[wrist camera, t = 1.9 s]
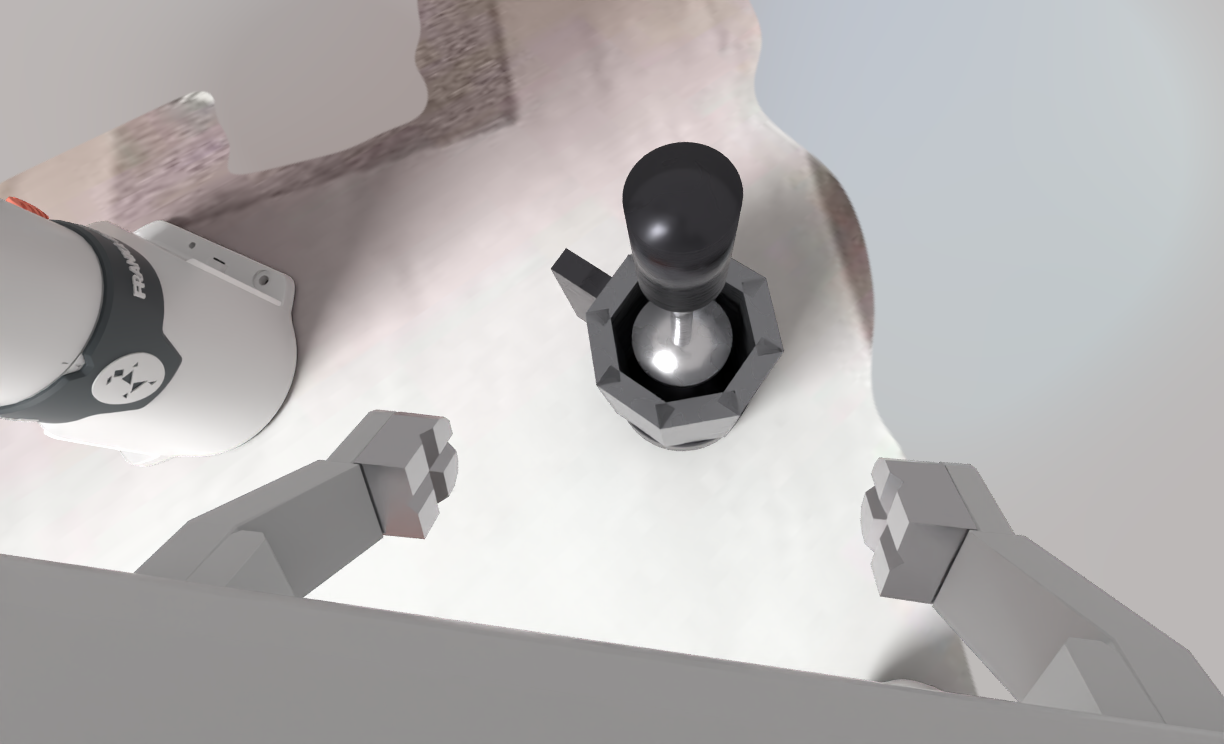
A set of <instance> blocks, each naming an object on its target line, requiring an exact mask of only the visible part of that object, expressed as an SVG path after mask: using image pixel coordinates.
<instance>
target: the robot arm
mask: <svg viewBox="0 0 1224 744" xmlns="http://www.w3.org/2000/svg"><path fill="white" fill-rule="evenodd" d="M48 219H49V217H48V216H47V215H46V214H45V213H44V212H42V211H41V210H39V209H38V208H36V207H35V206H33V205H31V204H29V203H27V202H25V201H23V200H20V199H18V198H15V197H8V198H7V199H6V201H5V200H3V199H1V198H0V419H5V420H12V421H19V422H38V423H39V425H40V426H41V427H42V428H43V429H44V433H45V434H46V435H48V436H49V437H52V438H55V439H59V440H65V441H70V442H76V443H82V444H87V445H93V446H99V447H105V448H111V449H117V450H119V451H120V452H121V454H122V456H123V457H124V459H125V460H126V461H127V462H128V463H129V464H131V465H136V466H142V467H148V466H153V465H156V464H159V463H161V462H163V461H166V460H168V459H171V458H173V457H178V456H190V457H205V456H212V455H217V454H221V453H224V452H227V451H229V450H232V449H234V448H236V447H238V446H240V445H242V444H243V443H245V442H247V441H248V440H249V439H251V438H252V437H254V436H255V435H256V434H257V433H258V432H260V431H261V430H262V429H263V428H264V427H265V426H266V425H267V424H268V423H269V421H270V420H271V419H272V418H273V417H274V415H275V414H276V413H277V411H278V410H279V408H280V407H281V405H282V403H283V401H284V400H285V398H286V396H287V394H288V391H289V389H290V386H291V383H292V380H293V377H294V372H295V367H296V359H297V346H296V338H295V333H294V329H293V324H292V318H291V311H292V306H293V300H294V294H295V284H294V281H293V279H292V278H291V277H290V276H288V275H286V274H284V273H282V272H280V271H277V270H275V269H273V268H271V267H268V266H266V265H264V264H261V263H259V262H257V261H255V260H252V259H250V258H248V257H246V256H243V255H241V254H239V253H237V252H234V251H232V250H230V249H228V248H225V247H223V246H221V245H219V244H216V243H214V242H212V241H210V240H207V239H205V238H203V237H201V236H198V235H196V234H194V233H192V232H189V231H187V230H185V229H183V228H180V227H178V226H176V225H173V224H171V223H168V222H166V221H162V220H157V221H154V222H152V223H149V224H147V225H145V226H143V227H141V228H139V229H138V230H136V231H134V232H133V233H132V232H130V231H128V230H126V229H124V228H122V227H120V226H118V225H116V224H114V223H111V222H109V221H100V222H95V223H92V224H89V225H86V226H83V225H78V224H74V223H70V222H65V221H61V220H48ZM268 279H269V280H268ZM267 280H268V282H267V284H265V283H266V281H267ZM452 434H453V433H452V429H451V425H450V421H449V420H448V419H447V418H445V417H440V416H432V415H423V414H415V413H406V412H395V411H386V410H374V411H371V412H369V413H368V414H367V415H366V416H365V417H364V418H363V420H362V421H361V422H360V423H359V424H358V425H357V426H356V427H355V429H354V430H353V431H352V432H351V433H350V434H349V435H348V436H347V438H346V439H345V440H344V441H343V442H342V443H341V444H340V445H339V446H338V448H337V449H336V450H335V451H334V452H333V453H332V454H331V455H330V457H329V458H328V459H327V460H326V461H325V460H317V461H315V462H313V463H311V464H309V465H307V466H305V467H302V468H300V469H298V470H296V471H294V472H292V473H290V474H287V475H285V476H283V477H281V478H279V479H277V480H275V481H272V482H270V483H268V484H266V485H264V486H262V487H260V488H258V489H255V490H253V491H251V492H249V493H247V494H245V495H243V496H240V497H238V498H236V499H234V500H232V501H230V502H228V503H226V504H223V505H221V506H219V507H217V508H215V509H213V510H211V511H208V512H206V513H204V514H202V515H200V516H198V517H196V518H193V519H191V520H189V521H188V522H187V523H186V524H185V525H184V526H183V527H182V528H180V529H179V530H178V531H177V532H176V533H175V534H174V535H173V536H172V537H171V538H170V539H169V540H168V541H167V542H166V543H165V544H164V545H163V546H161V547H160V548H159V549H158V550H157V551H156V552H155V553H154V554H153V555H152V556H151V557H150V558H149V559H148V560H147V561H146V562H145V563H144V564H142V565H141V566H140V567H139V568H138V569H137V570H136V571H135V572H134V573H129V572H122V571H115V570H108V569H101V568H94V567H88V566H81V565H74V564H67V563H60V562H53V561H46V560H39V559H32V558H26V557H19V556H12V555H5V554H0V744H1224V697H1223V695H1222V694H1221V692H1220V691H1219V690H1218V689H1217V687H1216V686H1215V684H1214V683H1213V682H1212V680H1211V679H1210V678H1209V676H1208V675H1207V674H1206V672H1205V671H1204V670H1203V668H1202V667H1201V666H1200V664H1199V663H1198V662H1197V660H1196V659H1195V658H1194V656H1193V655H1192V653H1191V652H1190V651H1189V650H1188V649H1186V648H1185V647H1183V646H1182V645H1180V644H1179V643H1178V642H1176V641H1175V640H1173V639H1172V638H1170V637H1169V636H1167V635H1166V634H1165V633H1163V632H1162V631H1160V630H1159V629H1157V628H1156V627H1155V626H1153V625H1152V624H1150V623H1149V622H1148V621H1146V620H1145V619H1143V618H1142V617H1140V616H1139V615H1138V614H1136V613H1135V612H1133V611H1132V610H1130V609H1129V608H1127V607H1126V606H1125V605H1123V604H1122V603H1120V602H1119V601H1117V600H1116V599H1115V598H1113V597H1112V596H1110V595H1109V594H1107V593H1106V592H1105V591H1103V590H1102V589H1100V588H1099V587H1097V586H1096V585H1095V584H1093V583H1092V582H1090V581H1089V580H1087V579H1086V578H1085V577H1083V576H1082V575H1080V574H1079V573H1077V572H1076V571H1074V570H1073V569H1072V568H1070V567H1069V566H1067V565H1066V564H1064V563H1063V562H1062V561H1060V560H1059V559H1057V558H1056V557H1054V556H1053V555H1052V554H1050V553H1049V552H1047V551H1046V550H1044V549H1043V548H1042V547H1040V546H1039V545H1037V544H1036V543H1034V542H1033V541H1032V540H1030V539H1028V538H1027V537H1026V536H1021V535H1015V534H1014V532H1013V530H1012V529H1011V527H1010V525H1009V524H1008V522H1007V520H1006V518H1005V517H1004V515H1003V513H1002V512H1001V510H1000V508H999V507H998V505H997V503H996V501H995V500H994V498H993V496H992V494H991V493H990V491H989V489H988V488H987V486H986V484H985V483H984V481H983V479H982V477H981V476H980V474H979V472H978V471H977V469H976V468H975V467H973V466H972V465H971V464H959V463H945V462H939V463H935V462H924V461H913V460H901V459H890V458H878V460H877V461H876V463H875V464H874V467H873V470H872V473H871V475H872V478H873V481H874V485H875V486H874V487H872V488H871V489H869V490H868V491H867V492H865V495H864V499H863V502H862V506H861V520H860V521H861V530H862V535H863V539H864V543H865V544H866V545H867V546H868V547H869V548H870V549H871V550H872V551H873V552H874V556H873V559H872V561H871V567H872V571H873V574H874V578H875V581H876V585H877V588H878V592H879V595H880V596H882V597H888V598H895V599H901V600H908V601H915V602H921V603H928V604H933V606H932V607H933V608H934V609H935V610H936V611H937V612H938V614H939V615H940V616H941V617H942V618H943V619H944V620H945V621H946V622H947V624H948V625H949V626H950V627H951V628H952V629H953V630H954V631H955V632H956V633H957V635H958V636H959V637H960V638H961V639H962V640H963V641H964V642H965V643H966V645H967V646H968V647H969V648H970V649H971V650H972V651H973V652H974V653H975V655H976V656H977V657H978V658H979V659H980V660H981V661H982V662H983V663H984V664H985V665H986V667H987V668H988V669H989V670H990V671H991V672H992V673H993V674H994V676H995V677H996V678H997V679H998V680H999V681H1000V682H1001V683H1002V684H1003V686H1004V687H1005V688H1006V689H1007V690H1008V691H1009V692H1010V693H1011V694H1012V696H1013V697H1014V698H1015V699H1016V700H1017V701H1018V702H1013V701H1006V700H999V699H992V698H985V697H979V696H972V695H965V694H958V693H951V692H945V691H938V690H931V689H924V688H917V687H910V686H904V685H897V684H890V683H883V682H876V681H869V680H863V679H856V678H849V677H842V676H835V675H828V674H821V673H815V672H808V671H801V670H794V669H787V668H780V667H773V666H767V665H760V664H753V663H746V662H739V661H732V660H725V659H719V658H712V657H705V656H698V655H691V654H684V653H677V652H670V651H664V650H657V649H650V648H643V647H636V646H629V645H623V644H616V643H609V642H602V641H595V640H588V639H582V638H575V637H568V636H561V635H554V634H547V633H541V632H534V631H527V630H520V629H513V628H506V627H499V626H493V625H486V624H479V623H472V622H465V621H458V620H451V619H445V618H438V617H431V616H424V615H417V614H410V613H403V612H397V611H390V610H383V609H376V608H369V607H362V606H355V605H349V604H342V603H335V602H328V601H321V600H314V599H307V598H303V597H304V596H306V595H307V594H308V593H310V592H311V591H312V590H314V589H315V588H316V587H318V586H319V585H320V584H322V583H323V582H324V581H326V580H327V579H328V578H330V577H331V576H332V575H334V574H335V573H336V572H338V571H339V570H340V569H342V568H343V567H344V566H346V565H347V564H348V563H350V562H351V561H352V560H354V559H355V558H356V557H358V556H359V555H360V554H362V553H363V552H364V551H366V550H367V549H368V548H370V547H371V546H372V545H374V544H375V543H376V542H378V541H379V540H380V539H382V538H383V535H388V536H399V537H409V538H419V539H425V538H426V536H427V534H428V533H429V531H430V529H431V527H432V526H433V524H434V522H435V520H436V518H437V517H438V515H439V509H438V505H437V503H439V502H441V501H442V500H444V499H446V498H447V497H449V495H450V493H451V492H452V490H453V488H454V486H455V482H456V478H457V474H458V457H457V452H456V450H455V449H454V448H453V447H452V446H451V445H450V444H449V443H448V440H449V439H450V437H451V436H452Z"/></svg>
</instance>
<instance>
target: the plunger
mask: <svg viewBox="0 0 1224 744" xmlns="http://www.w3.org/2000/svg"><path fill="white" fill-rule="evenodd" d="M742 200H743V187H742V182H741V179H740V176H739V174H738V172H737V170H736V168H735V167H734V165H733V164H732V163H731V162H730V160H729V159H728V158H727V157H725V156H724V155H723V154H722V153H720V152H719V151H717V150H715V149H713V148H711V147H709V146H706V145H703V144H698V143H692V142H678V143H672V144H668V145H664V146H662V147H659V148H657V149H655V150H653V151H651V152H649V153H648V154H647V155H645V156H644V157H643V158H642V159H640V160H639V161H638V162H637V163H636V165H635V166H634V167H633V168H632V170H631V171H630V173H629V175H628V177H627V179H626V182H625V185H624V189H623V209H624V214H625V219H626V224H627V229H628V234H629V239H630V244H631V249H632V254H633V259H634V264H635V269H636V274H637V279H638V283H639V286H640V288H641V290H642V292H643V293H644V295H645V296H646V297H647V299H649V300H650V301H649V302H648V303H647V304H646V305H645V306H644V307H643V309H642V310H641V311H640V313H639V314H638V316H637V318H636V320H635V323H634V326H633V331H632V346H633V350H634V354H635V357H636V359H637V361H638V363H639V365H640V367H641V368H642V369H643V371H644V372H645V373H646V374H647V375H648V376H649V377H651V378H652V379H653V380H655V381H657V382H659V383H661V384H663V385H666V386H669V387H675V388H689V387H694V386H698V385H700V384H703V383H705V382H707V381H709V380H710V379H711V378H713V377H714V376H715V375H716V374H717V373H718V372H719V371H720V370H721V369H722V368H723V366H724V364H725V363H726V361H727V359H728V356H729V353H730V350H731V346H732V329H731V325H730V321H729V319H728V317H727V315H726V313H725V312H724V310H723V309H722V308H721V307H720V305H719V304H717V303H716V302H715V301H714V299H715V298H716V297H717V296H718V295H719V294H720V292H721V291H722V289H723V287H724V285H725V282H726V279H727V274H728V269H729V265H730V260H731V255H732V250H733V245H734V240H735V236H736V231H737V226H738V221H739V216H740V211H741V207H742Z"/></svg>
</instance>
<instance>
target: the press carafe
mask: <svg viewBox="0 0 1224 744" xmlns="http://www.w3.org/2000/svg"><path fill="white" fill-rule="evenodd" d="M551 270H552V272H553V274H554V276H555V277H556V279H557V281H558V283H559V284H560V286H561V288H562V290H563V291H564V293H565V295H566V297H567V298H568V300H569V302H570V304H571V306H572V307H573V309H574V311H575V313H576V314H577V316H578V317H579V318H581V319H582V320H584V321H585V322H587V327H588V333H589V340H590V346H591V352H592V359H593V365H594V371H595V378H596V385H597V387H598V388H599V390H600V391H601V392H602V394H603V395H604V396H605V398H606V399H607V400H608V402H609V403H610V404H611V406H612V407H613V408H614V410H615V411H616V412H617V414H619V415H621V416H622V417H624V418H625V419H626V420H627V421H628V422H629V423H630V425H631V426H632V428H633V429H634V430H635V431H636V432H637V433H638V434H639V435H640V436H642V437H643V438H644V439H645V440H647V441H649V442H650V443H652V444H654V445H656V446H659V447H661V448H665V449H668V450H674V451H691V450H697V449H701V448H704V447H706V446H709V445H711V444H713V443H715V442H716V441H718V440H719V439H721V438H722V437H725V436H726V435H727V434H728V432H729V431H730V430H731V428H732V427H733V426H734V425H735V423H736V422H737V421H738V419H739V418H740V416H741V415H742V414H743V412H744V410H745V409H746V407H747V405H748V403H749V401H750V399H751V398H752V397H753V395H754V394H755V392H756V391H757V389H758V388H759V386H760V385H761V384H762V382H763V381H764V379H765V378H766V376H767V375H768V374H769V372H770V371H771V369H772V368H773V366H774V365H775V363H776V362H777V361H778V359H779V358H780V356H781V355H782V353H783V352H784V350H783V346H782V342H781V338H780V334H779V330H778V326H777V322H776V318H775V314H774V310H773V305H772V301H771V297H770V293H769V289H768V285H767V281H766V278H765V277H763V276H761V275H760V274H758V273H756V272H754V271H753V270H751V269H749V268H748V267H746V266H744V265H743V264H741V263H739V262H737V261H736V260H734V259H732V258H731V260H730V265H729V269H728V274H727V279H726V282H725V285H724V287H723V289H722V291H721V292H720V294H719V295H718V296H717V297H716V298H715V299H714V301H715V302H716V303H717V304H719V305H720V307H721V308H722V309H723V310H724V312H725V313H726V315H727V317H728V319H729V321H730V325H731V329H732V346H731V350H730V353H729V356H728V359H727V361H726V363H725V364H724V366H723V368H722V369H721V370H720V371H719V372H718V373H717V374H716V375H715V376H714V377H713V378H711V379H710V380H709V381H707V382H705V383H703V384H700V385H698V386H694V387H689V388H675V387H669V386H666V385H663V384H661V383H659V382H657V381H655V380H653V379H652V378H651V377H649V376H648V375H647V374H646V373H645V372H644V371H643V369H642V368H641V367H640V365H639V363H638V361H637V359H636V357H635V354H634V350H633V346H632V331H633V326H634V323H635V320H636V318H637V316H638V314H639V313H640V311H641V310H642V309H643V307H644V306H645V305H646V304H647V303H648V302H649V301H650V300H649V299H647V297H646V296H645V295H644V293H643V292H642V290H641V288H640V286H639V283H638V279H637V274H636V269H635V264H634V259H633V254H631V255H628V256H627V258H626V259H625V260H624V262H623V263H622V264H621V266H620V267H619V269H618V270H617V271H616V273H615V274H614V275H613V277H611V276H609V275H608V274H606V273H604V272H603V271H601V270H600V269H598V268H597V267H595V266H593V265H592V264H590V263H589V262H587V261H586V260H584V259H582V258H581V257H579V256H578V255H576V254H574V253H573V252H571V251H570V250H568V249H567V248H566V249H565V250H564V252H563V253H562V254H561V256H560V257H559V258H558V260H557V261H556V262H555V264H554V265H553V266H552V268H551Z"/></svg>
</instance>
